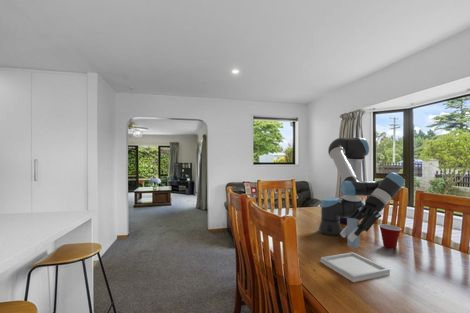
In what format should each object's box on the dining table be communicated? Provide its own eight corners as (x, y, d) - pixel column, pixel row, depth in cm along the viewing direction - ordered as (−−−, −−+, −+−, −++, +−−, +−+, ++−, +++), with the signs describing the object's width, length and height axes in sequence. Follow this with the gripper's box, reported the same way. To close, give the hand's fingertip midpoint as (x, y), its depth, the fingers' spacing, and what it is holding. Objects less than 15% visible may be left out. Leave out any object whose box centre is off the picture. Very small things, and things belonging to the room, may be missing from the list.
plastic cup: (405, 251, 126) (405, 229, 126) (383, 250, 128) (383, 228, 128) (396, 244, 137) (396, 224, 137) (376, 243, 139) (375, 223, 139)
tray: (320, 261, 114) (320, 257, 114) (352, 256, 120) (352, 252, 120) (353, 282, 95) (353, 276, 95) (389, 274, 101) (389, 269, 101)
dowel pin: (344, 244, 109) (344, 218, 109) (353, 243, 110) (353, 217, 110) (353, 248, 104) (353, 221, 104) (362, 246, 105) (361, 220, 106)
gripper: (398, 210, 101) (364, 250, 98) (368, 202, 119) (339, 237, 116) (387, 198, 100) (353, 238, 97) (359, 192, 118) (329, 226, 115)
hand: (345, 237), depth 106 cm, fingers closed on dowel pin, 5 cm apart
